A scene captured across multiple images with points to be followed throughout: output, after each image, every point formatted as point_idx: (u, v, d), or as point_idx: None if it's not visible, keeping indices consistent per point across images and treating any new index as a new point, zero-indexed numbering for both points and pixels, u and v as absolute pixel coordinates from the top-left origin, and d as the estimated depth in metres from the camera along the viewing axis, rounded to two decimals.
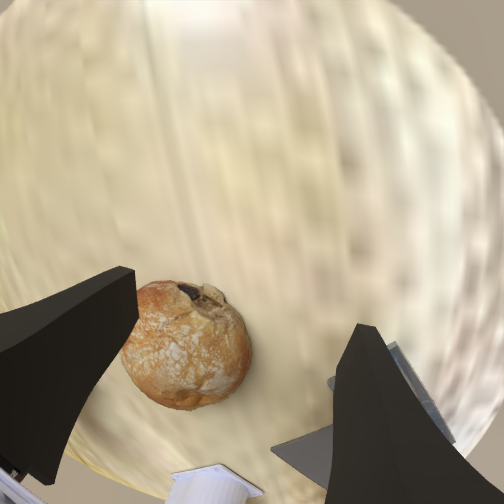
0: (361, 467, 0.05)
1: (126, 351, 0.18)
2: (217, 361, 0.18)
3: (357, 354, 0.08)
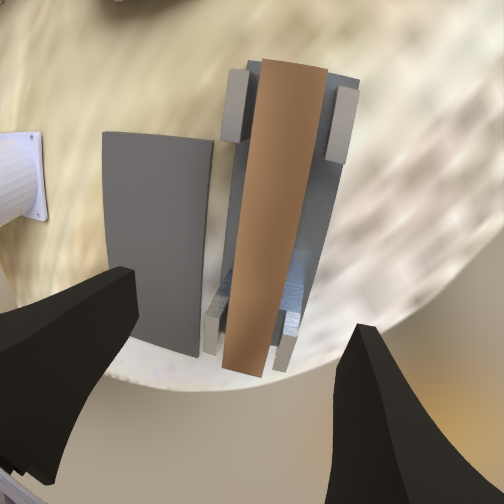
0: (361, 467, 0.05)
1: None
2: None
3: (357, 354, 0.08)
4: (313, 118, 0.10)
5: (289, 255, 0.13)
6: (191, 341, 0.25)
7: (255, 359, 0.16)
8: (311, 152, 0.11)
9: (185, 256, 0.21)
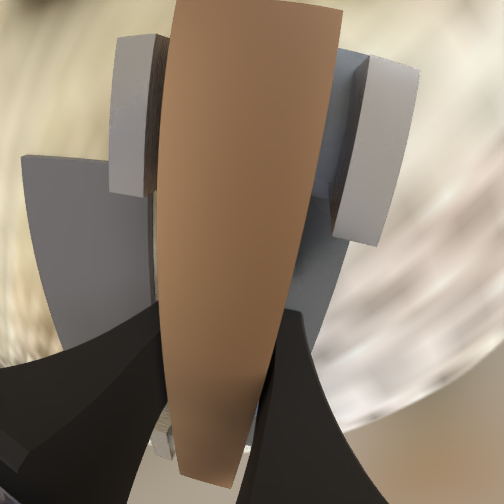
0: (254, 452, 0.05)
1: None
2: None
3: None
4: (304, 138, 0.04)
5: (255, 397, 0.07)
6: None
7: (221, 477, 0.10)
8: (299, 225, 0.05)
9: None
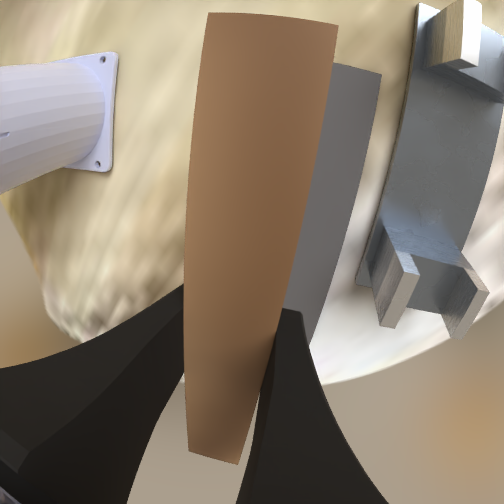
0: (254, 452, 0.05)
1: None
2: None
3: None
4: (308, 123, 0.05)
5: (266, 354, 0.08)
6: (307, 325, 0.20)
7: (229, 451, 0.11)
8: (305, 191, 0.06)
9: (329, 211, 0.16)
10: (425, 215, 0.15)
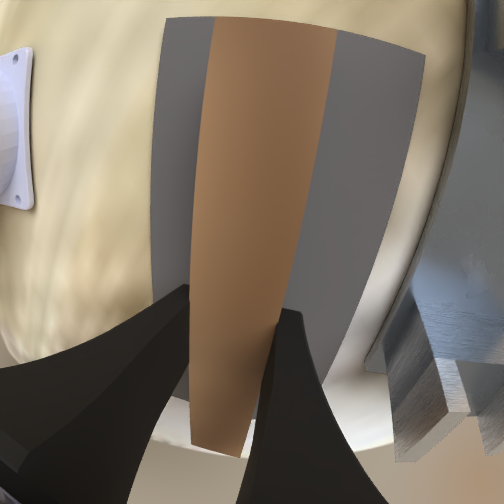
0: (254, 452, 0.05)
1: None
2: None
3: (273, 337, 0.08)
4: (309, 120, 0.05)
5: (269, 343, 0.08)
6: None
7: (231, 443, 0.12)
8: (306, 185, 0.06)
9: (332, 279, 0.10)
10: (474, 282, 0.09)
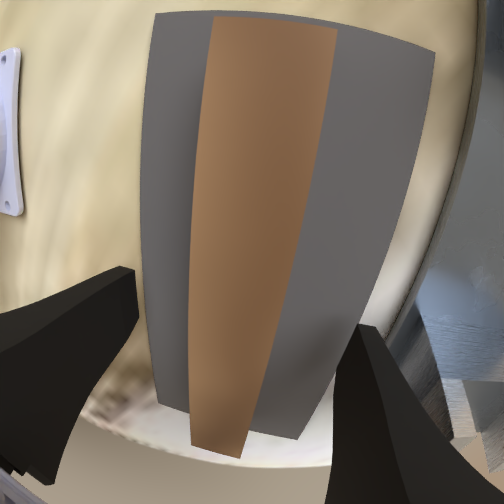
0: (361, 467, 0.05)
1: None
2: None
3: (357, 354, 0.08)
4: (310, 122, 0.05)
5: (269, 345, 0.08)
6: (295, 422, 0.14)
7: (231, 444, 0.11)
8: (306, 186, 0.06)
9: (333, 292, 0.10)
10: (483, 295, 0.08)
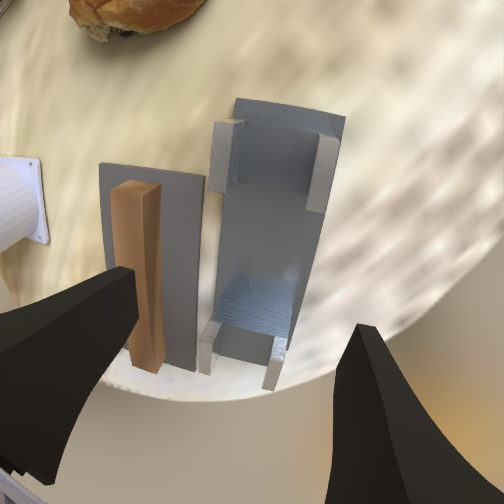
0: (361, 467, 0.05)
1: None
2: None
3: (357, 354, 0.08)
4: (139, 225, 0.18)
5: (146, 301, 0.20)
6: (188, 357, 0.26)
7: (148, 361, 0.24)
8: (142, 245, 0.18)
9: (180, 282, 0.22)
10: (255, 286, 0.21)
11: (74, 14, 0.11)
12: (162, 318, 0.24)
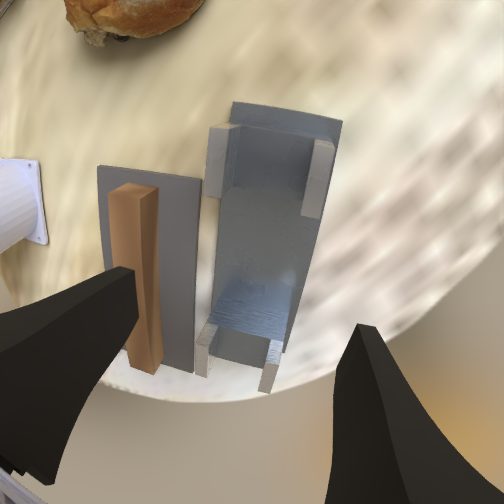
0: (361, 467, 0.05)
1: None
2: None
3: (357, 354, 0.08)
4: (137, 229, 0.18)
5: (143, 303, 0.21)
6: (186, 358, 0.26)
7: (146, 362, 0.24)
8: (140, 248, 0.18)
9: (178, 284, 0.22)
10: (251, 289, 0.21)
11: (71, 19, 0.11)
12: (160, 319, 0.24)
